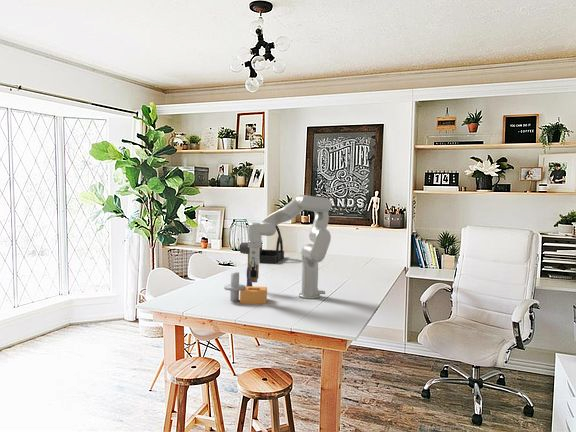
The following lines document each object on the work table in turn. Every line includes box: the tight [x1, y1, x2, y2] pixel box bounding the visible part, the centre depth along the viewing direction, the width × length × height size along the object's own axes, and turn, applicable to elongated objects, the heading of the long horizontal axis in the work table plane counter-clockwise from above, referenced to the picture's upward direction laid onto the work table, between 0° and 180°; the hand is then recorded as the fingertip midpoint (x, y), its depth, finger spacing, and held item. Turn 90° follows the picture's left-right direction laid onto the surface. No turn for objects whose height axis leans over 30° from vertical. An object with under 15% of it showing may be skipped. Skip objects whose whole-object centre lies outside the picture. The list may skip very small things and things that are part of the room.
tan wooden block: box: [249, 260, 260, 283], centre depth 264 cm, size 5×4×12 cm
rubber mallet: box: [238, 242, 261, 287], centre depth 291 cm, size 12×8×30 cm, turn 68°
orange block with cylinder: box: [223, 271, 268, 305], centre depth 265 cm, size 24×12×16 cm, turn 88°
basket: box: [259, 225, 285, 265], centre depth 402 cm, size 35×21×35 cm, turn 168°
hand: (253, 276), depth 264 cm, fingers closed on tan wooden block, 4 cm apart
